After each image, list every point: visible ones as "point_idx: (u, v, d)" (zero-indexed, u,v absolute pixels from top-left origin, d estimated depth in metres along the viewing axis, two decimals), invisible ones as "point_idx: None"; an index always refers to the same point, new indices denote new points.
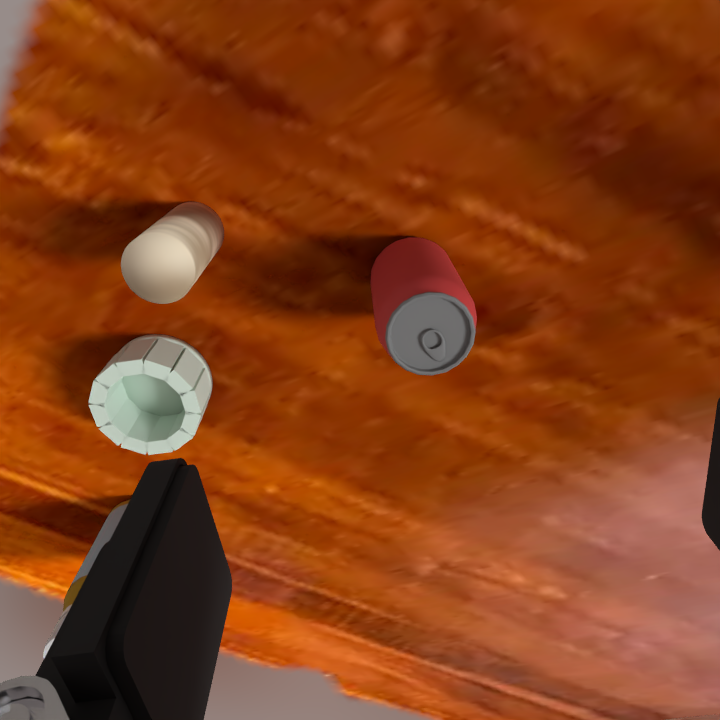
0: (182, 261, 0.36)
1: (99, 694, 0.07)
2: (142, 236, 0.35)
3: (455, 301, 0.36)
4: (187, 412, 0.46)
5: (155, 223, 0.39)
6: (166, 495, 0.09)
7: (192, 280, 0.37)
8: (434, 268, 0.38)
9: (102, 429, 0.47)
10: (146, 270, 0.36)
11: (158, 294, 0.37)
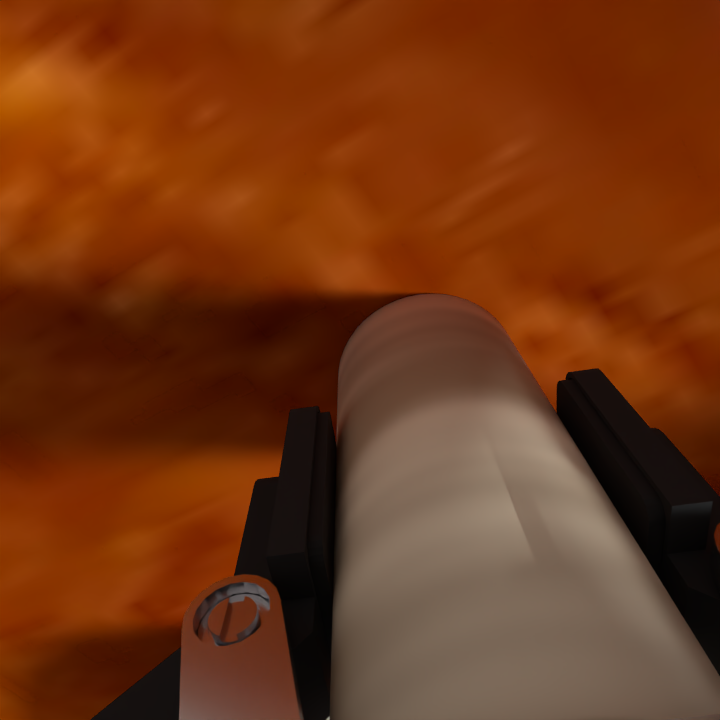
0: None
1: (301, 592, 0.08)
2: None
3: None
4: None
5: (425, 461, 0.08)
6: (315, 435, 0.10)
7: None
8: None
9: None
10: None
11: None
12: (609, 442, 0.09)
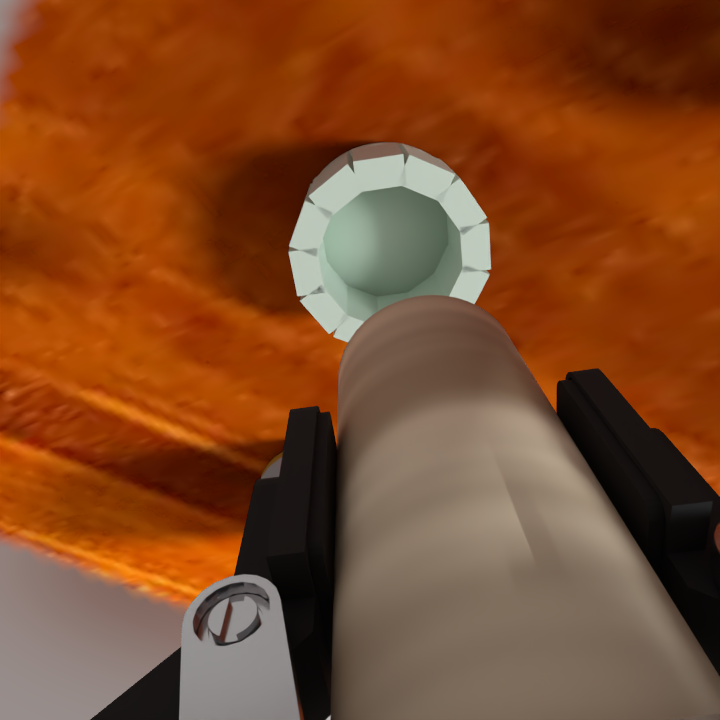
0: None
1: (301, 592, 0.08)
2: None
3: None
4: (466, 268, 0.25)
5: (426, 464, 0.08)
6: (315, 435, 0.10)
7: None
8: None
9: (306, 301, 0.26)
10: None
11: None
12: (609, 442, 0.09)
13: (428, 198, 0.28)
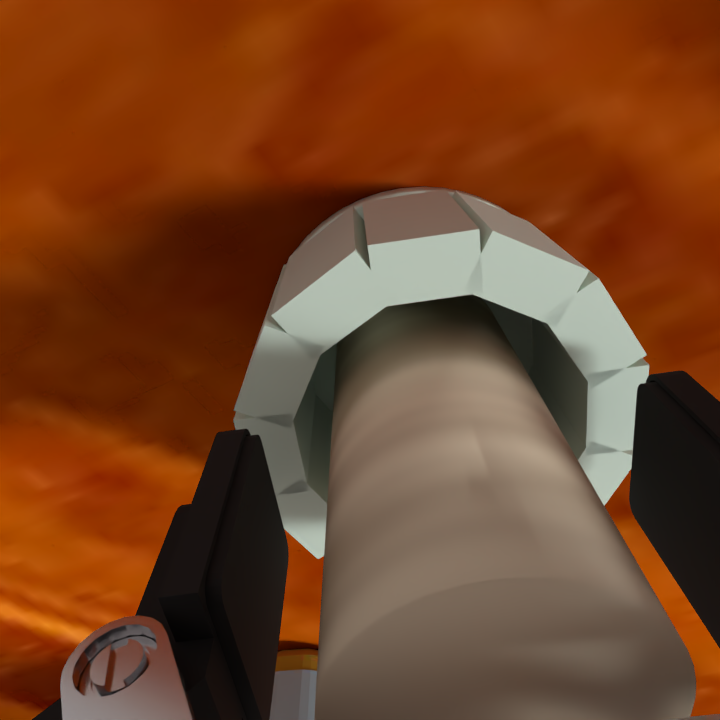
0: (646, 686, 0.07)
1: (199, 634, 0.08)
2: (463, 585, 0.06)
3: None
4: (593, 447, 0.13)
5: (405, 407, 0.09)
6: (238, 461, 0.10)
7: None
8: None
9: None
10: None
11: None
12: (712, 449, 0.08)
13: None
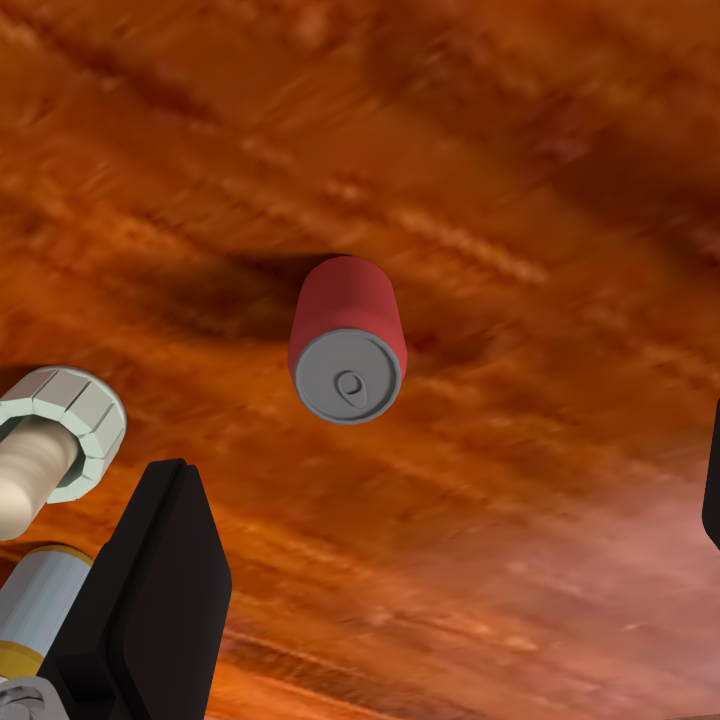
0: (15, 504, 0.35)
1: (99, 694, 0.07)
2: None
3: (374, 339, 0.29)
4: (88, 456, 0.40)
5: None
6: (166, 495, 0.09)
7: (28, 520, 0.35)
8: (357, 297, 0.32)
9: None
10: None
11: None
12: None
13: None
